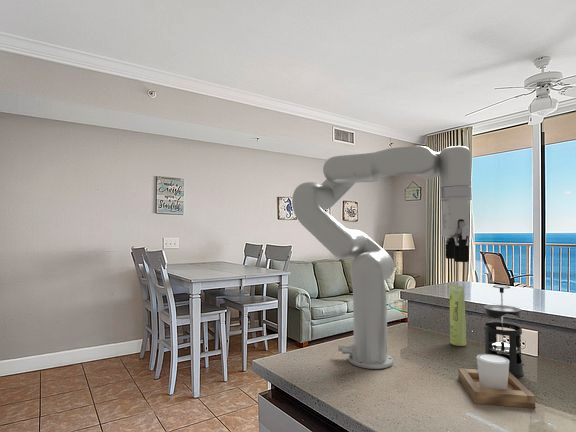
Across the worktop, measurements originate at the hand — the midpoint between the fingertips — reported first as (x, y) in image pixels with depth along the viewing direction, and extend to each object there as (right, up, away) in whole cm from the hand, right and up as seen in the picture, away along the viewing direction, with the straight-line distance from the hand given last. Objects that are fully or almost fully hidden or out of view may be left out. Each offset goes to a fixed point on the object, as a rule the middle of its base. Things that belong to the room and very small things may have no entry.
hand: (456, 260), depth 97 cm
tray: (+5, -30, -9) cm, 32 cm away
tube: (+13, -31, +27) cm, 43 cm away
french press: (+14, -31, +4) cm, 34 cm away
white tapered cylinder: (+4, -29, -9) cm, 31 cm away
